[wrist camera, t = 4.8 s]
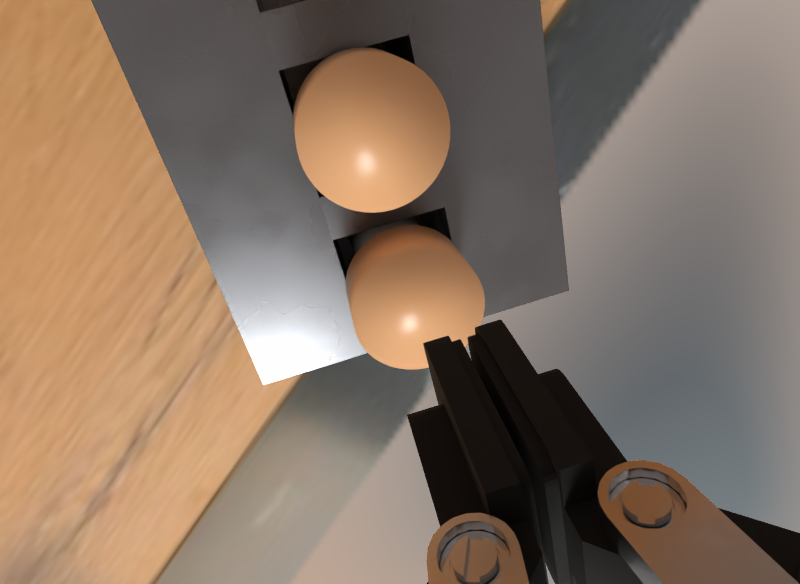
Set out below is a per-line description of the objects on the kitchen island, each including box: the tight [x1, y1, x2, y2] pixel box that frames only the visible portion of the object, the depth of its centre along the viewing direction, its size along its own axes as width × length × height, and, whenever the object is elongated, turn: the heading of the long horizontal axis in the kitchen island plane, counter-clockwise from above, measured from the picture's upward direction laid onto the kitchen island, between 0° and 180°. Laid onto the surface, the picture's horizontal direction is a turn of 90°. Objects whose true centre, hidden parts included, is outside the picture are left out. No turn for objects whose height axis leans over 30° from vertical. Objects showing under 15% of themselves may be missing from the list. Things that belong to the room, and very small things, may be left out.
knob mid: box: [293, 47, 450, 213], centre depth 17 cm, size 4×4×8 cm
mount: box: [91, 0, 569, 385], centre depth 19 cm, size 11×15×7 cm
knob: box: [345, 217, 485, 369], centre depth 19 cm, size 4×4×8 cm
